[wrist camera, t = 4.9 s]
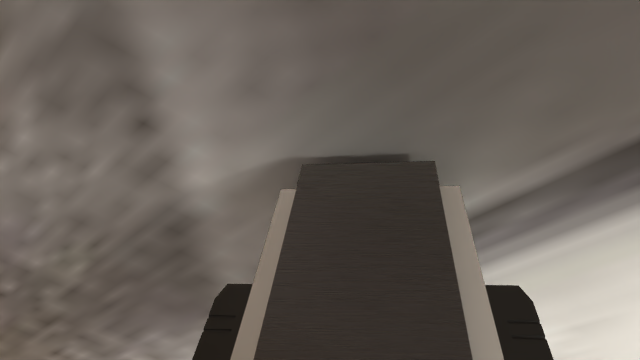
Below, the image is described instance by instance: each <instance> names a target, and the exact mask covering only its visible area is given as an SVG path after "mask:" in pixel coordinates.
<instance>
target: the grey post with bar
mask: <svg viewBox="0 0 640 360" xmlns="http://www.w3.org/2000/svg"><path fill="white" fill-rule="evenodd" d="M253 360H473V359H472V353H471V348H470V343H469V338H468V333H467V327H466V322H465V317H464V312H463V306H462V301H461V296H460V291H459V286H458V280H457V275H456V270H455V265H454V260H453V254H452V249H451V244H450V239H449V234H448V228H447V223H446V218H445V213H444V208H443V202H442V197H441V192H440V187H439V181H438V176H437V171H436V166H435V161H420V162H383V163H345V164H308V165H302V168H301V172H300V176H299V180H298V184H297V188H296V192H295V196H294V200H293V204H292V208H291V212H290V216H289V220H288V224H287V228H286V232H285V236H284V240H283V244H282V248H281V252H280V256H279V260H278V264H277V268H276V272H275V276H274V280H273V284H272V288H271V292H270V296H269V300H268V304H267V308H266V312H265V316H264V320H263V324H262V328H261V332H260V335H259V339H258V343H257V347H256V351H255V355H254V359H253Z"/></svg>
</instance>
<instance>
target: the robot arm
mask: <svg viewBox="0 0 640 360" xmlns="http://www.w3.org/2000/svg"><path fill="white" fill-rule="evenodd" d="M439 187H440V192H441V197H442V202H443V208H444V213H445V218H446V223H447V228H448V234H449V239H450V244H451V249H452V254H453V260H454V265H455V270H456V275H457V280H458V286H459V291H460V296H461V301H462V306H463V312H464V317H465V322H466V327H467V333H468V338H469V343H470V348H471V353H472V359H473V360H553V357H552V354H551V351H550V348H549V346H548V343H547V340H545V334H544V332H543V329H542V326H541V324H540V322H539V321H540V320H539V317H538V315H537V312H536V309H535V306H534V303H533V301H532V300H531V299H530V298H529V297H528V296H527V295H526V293H525V292H524V291H523V290H522V289H521V288H520V287H519V286H513V285H485V283H484V279H483V276H482V272H481V268H480V264H479V260H478V256H477V252H476V248H475V244H474V240H473V237H472V233H471V229H470V225H469V221H468V217H467V213H466V209H465V205H464V201H463V197H462V194H461V190H460V186H439ZM295 192H296V189H281V191H280V194H279V197H278V201H277V204H276V207H275V211H274V214H273V218H272V221H271V224H270V228H269V231H268V234H267V238H266V241H265V245H264V248H263V251H262V255H261V258H260V261H259V265H258V268H257V271H256V275H255V278H254V282H253V284H227V285H226V287H225V288H224V289H223V290H222V291H221V292H220V293H219V295H218V296H217V297H216V298H215V300H214V303H213V305H212V308H211V311H210V313H209V318H208V319H207V322H206V324H205V327H204V332H202V335H201V338H200V340H199V343H198V346H197V348H196V351H195V354H194V356H193V359H192V360H253V359H254V355H255V351H256V347H257V343H258V339H259V335H260V332H261V328H262V324H263V320H264V316H265V312H266V308H267V304H268V300H269V296H270V292H271V288H272V284H273V280H274V276H275V272H276V268H277V264H278V260H279V256H280V252H281V248H282V244H283V240H284V236H285V232H286V228H287V224H288V220H289V216H290V212H291V208H292V204H293V200H294V196H295Z"/></svg>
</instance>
